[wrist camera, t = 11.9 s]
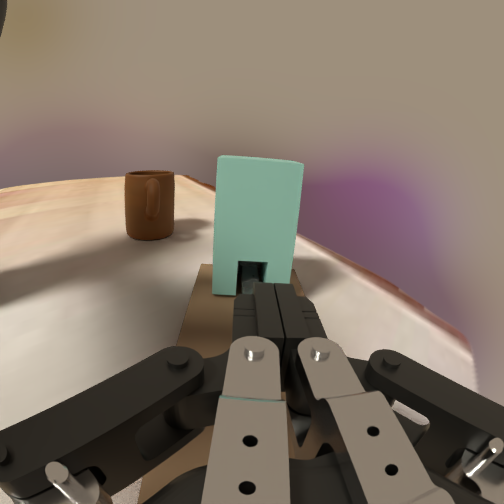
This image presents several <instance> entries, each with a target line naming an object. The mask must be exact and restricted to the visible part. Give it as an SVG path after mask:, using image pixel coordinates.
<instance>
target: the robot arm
mask: <svg viewBox="0 0 504 504" xmlns="http://www.w3.org/2000/svg"><path fill="white" fill-rule="evenodd" d="M6 10H7V0H0V36H1V33H2V29H3V25H4V21H5V16H6ZM281 392H285V393H286V401H285V400H284V399H281ZM395 400H397V401H399V402H401V403H402V404H404V405H406V406H408V407H409V408H411V409H413V410H415V411H416V412H418V413H420V414H422V415H424V416H425V417H427V418H428V420H429V423H428V424H427V425H418V424H416V423H415V422H413V421H411V420H409V419H408V418H406V417H404V416H402V415H401V414H399V413H397V412H396V411H394V410H392V409H391V407H392V405H393V404H394V402H395ZM287 424H288V428H289V432H290V436H291V440H292V444H293V448H294V452H295V459H293V458H289V455H288V433H287ZM212 425H214V430H213V436H212V442H211V448H210V453H209V459H208V465H204V466H200V467H197V468H194V469H192V470H189V471H187V472H185V473H183V474H181V475H180V476H178V477H176V478H175V479H173V480H172V481H171V482H169V483H168V484H167V485H166V486H164V487H163V488H162V489H160V490H159V491H158V492H157V493H155V494H154V495H153V496H151V497H150V498H149V499H147V500H146V501H145V502H143V503H142V504H504V407H503V406H501V405H499V404H497V403H495V402H493V401H491V400H489V399H487V398H485V397H483V396H481V395H479V394H477V393H475V392H473V391H472V390H470V389H468V388H466V387H464V386H462V385H460V384H458V383H456V382H454V381H452V380H450V379H448V378H446V377H444V376H442V375H440V374H438V373H437V372H435V371H433V370H431V369H429V368H427V367H425V366H423V365H421V364H419V363H417V362H416V361H414V360H412V359H410V358H408V357H406V356H404V355H402V354H400V353H398V352H396V351H393V350H387V349H383V350H377V351H375V352H374V353H372V354H371V356H370V358H369V361H366V360H360V359H354V358H349V357H346V355H345V354H344V352H343V350H342V348H341V347H340V346H339V345H338V344H337V343H335V342H333V341H331V340H329V339H328V338H327V336H326V333H325V331H324V328H323V326H322V323H321V321H320V319H319V316H318V314H317V313H316V309H315V306H314V304H313V303H312V302H311V301H310V300H309V299H308V298H306V297H305V296H297V295H296V292H295V289H294V286H293V284H287V283H266V282H254V283H253V292H252V294H239V295H238V296H237V297H236V298H235V299H234V307H233V325H232V344H231V346H230V348H229V349H228V350H227V351H226V352H224V353H223V354H221V355H218V356H215V357H210V358H202V356H201V355H200V354H199V353H198V352H197V351H195V350H194V349H191V348H188V347H183V346H173V347H168V348H165V349H163V350H161V351H159V352H157V353H155V354H153V355H152V356H150V357H148V358H146V359H144V360H142V361H141V362H139V363H137V364H135V365H133V366H131V367H129V368H127V369H126V370H124V371H122V372H120V373H118V374H116V375H114V376H112V377H110V378H109V379H107V380H105V381H103V382H101V383H99V384H97V385H95V386H93V387H91V388H89V389H87V390H85V391H83V392H81V393H79V394H77V395H75V396H73V397H71V398H69V399H67V400H65V401H63V402H61V403H59V404H57V405H55V406H53V407H51V408H49V409H47V410H45V411H42V412H40V413H38V414H36V415H34V416H32V417H30V418H28V419H25V420H23V421H21V422H19V423H17V424H14V425H12V426H10V427H8V428H6V429H3V430H1V431H0V488H1V489H2V490H3V491H4V492H5V493H6V494H7V495H8V496H10V497H11V499H12V500H13V502H14V504H113V502H112V499H111V496H113V495H114V494H116V493H118V492H119V491H121V490H122V489H124V488H126V487H127V486H129V485H130V484H132V483H133V482H135V481H136V480H138V479H139V478H141V477H142V476H144V475H145V474H147V473H148V472H150V471H151V470H153V469H154V468H155V467H157V466H158V465H160V464H161V463H162V462H164V461H165V460H167V459H168V458H169V457H171V456H172V455H173V454H175V453H176V452H177V451H179V450H180V449H181V448H183V447H184V446H185V445H187V444H188V443H189V442H190V441H192V440H193V439H194V438H196V437H197V436H198V435H199V434H201V433H202V432H203V430H204V429H205V427H207V426H212Z"/></svg>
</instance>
